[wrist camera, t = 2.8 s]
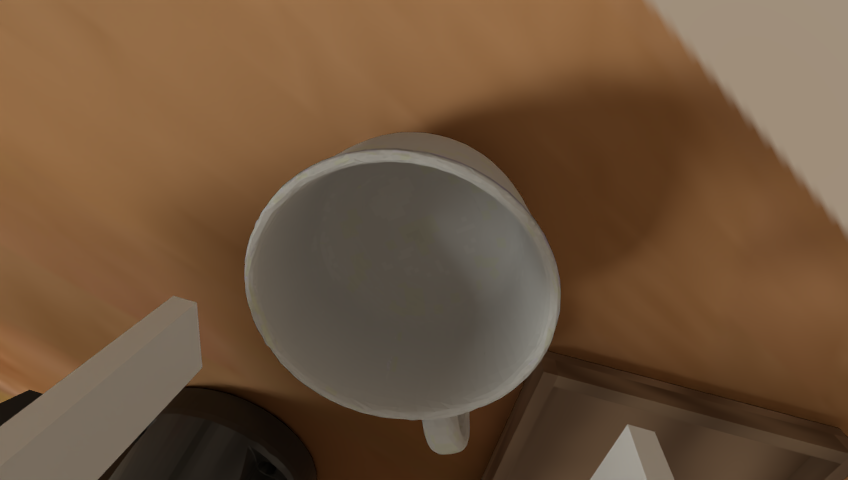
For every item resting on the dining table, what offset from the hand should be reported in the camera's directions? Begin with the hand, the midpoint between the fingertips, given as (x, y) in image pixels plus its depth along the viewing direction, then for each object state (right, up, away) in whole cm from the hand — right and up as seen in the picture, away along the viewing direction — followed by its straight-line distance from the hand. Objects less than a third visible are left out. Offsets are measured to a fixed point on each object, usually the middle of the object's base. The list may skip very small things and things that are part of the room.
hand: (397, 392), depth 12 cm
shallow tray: (+14, -11, +14) cm, 23 cm away
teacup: (+1, +4, +9) cm, 10 cm away
